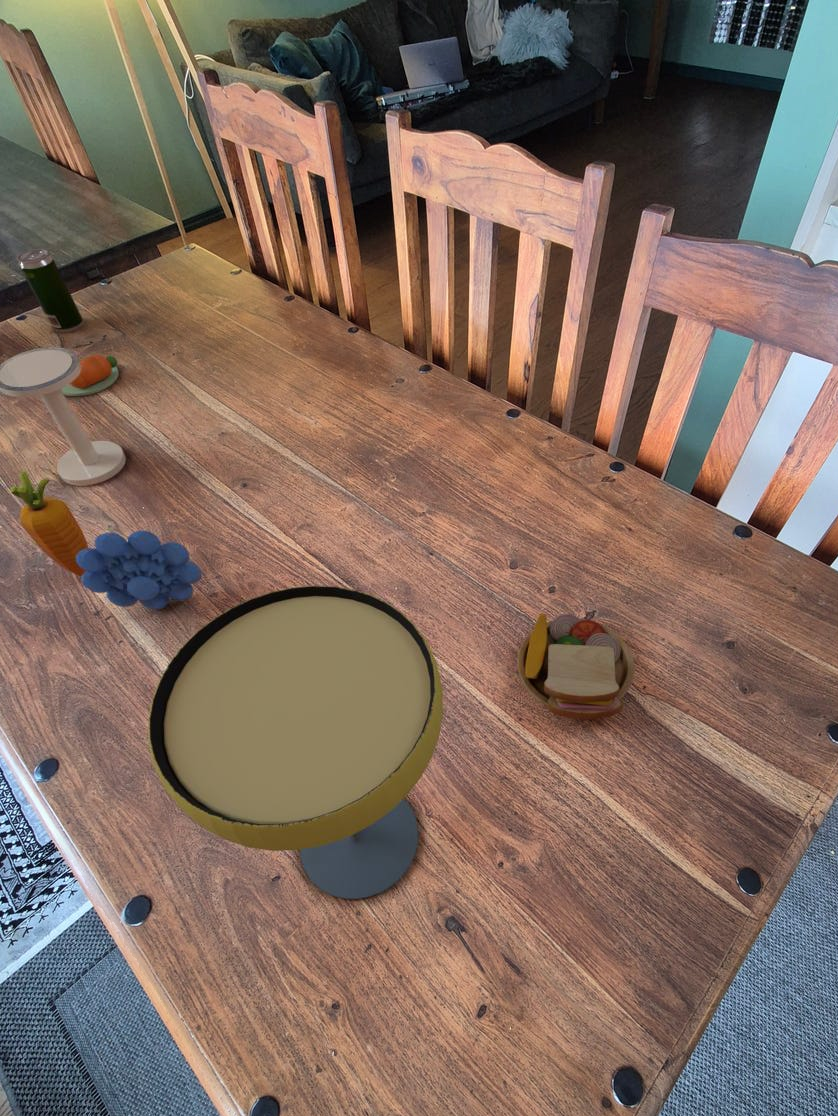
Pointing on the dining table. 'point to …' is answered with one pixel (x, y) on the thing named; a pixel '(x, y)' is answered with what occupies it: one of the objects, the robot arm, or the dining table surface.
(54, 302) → the beer can
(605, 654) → the toy sandwich meal
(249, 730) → the cocktail glass
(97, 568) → the blue knobbed flower
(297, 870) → the dining table surface
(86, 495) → the dining table surface
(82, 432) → the cake stand
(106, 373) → the carrot
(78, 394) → the mat
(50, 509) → the carrot
